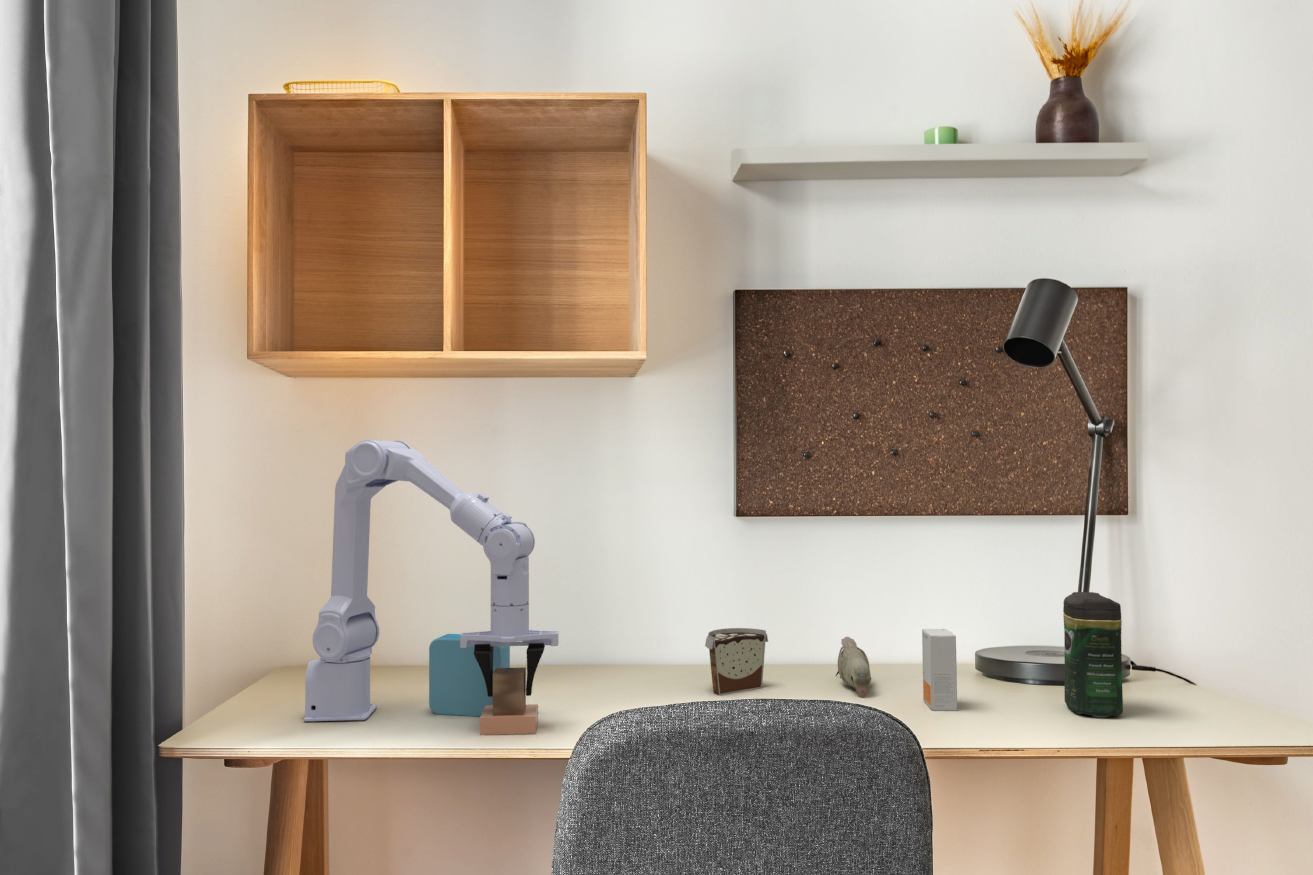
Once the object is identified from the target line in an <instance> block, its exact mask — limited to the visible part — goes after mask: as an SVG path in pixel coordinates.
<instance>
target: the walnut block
mask: <svg viewBox="0 0 1313 875" xmlns="http://www.w3.org/2000/svg"><path fill="white" fill-rule="evenodd" d="M526 683H527V666H526V667H525V666H524V667H523V666H522V667H510V668H496V669H495V671H494V673H493V716H504V715H524V712H525V708H526V705H527V702H526V701H527V698H526V697H527V696H526Z"/></svg>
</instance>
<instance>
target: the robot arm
mask: <svg viewBox="0 0 1313 875" xmlns="http://www.w3.org/2000/svg"><path fill="white" fill-rule="evenodd" d="M344 458H345V459H344V461H345V462H344V463H345V464H344V466H343V468H342V470H341V472H340V475H339V476H338V478H337V480H336V482H335V486H334V488H335V489H334V507H333V511H334V512H333V532H332V533H333V534H332V536H333V537H332V558H331V559H332V560H331V561H332V562H331V564H332V565H331V586H330V588H331V590H330V597H329V599H328V600H327V602H326V603H325V604H324V605H323V607H322V608H321V609H320V610H319V611H318V621H317V624H316V627H315V629H314V631H313V634H312V645H313V646H312V647H313V650H314V651H315V653H316V654H317V655H318V656H319V657H320V658H314V659H311V660H310V661H309V662H308V664H307V666H306V672H305V681H304V684H305V685H304V686H305V687H304V690H305V692H304V698H305V699H304V702H305V703H304V704H305V705H304V718H303V721H304V722H325V721H326V722H328V721H331V722H332V721H336V722H337V721H365V720H367V719H368V718H369V717H370V716H371V715H372V713H373V712H374V711H375V710H376V709H377V708H378V704H375V703H373V704H372V703H371V655H372V654H373V653H372V651H373V650H372V649H373V648H374V646H375V645H376V644H377V642H378V641H379V637H380V627H379V626H380V625H379V623H378V620H377V618H376V606H375V604H374V603H373V602H372V600H371V599H370V597H369V596H368V582H369V581H368V580H369V579H368V578H369V556H370V555H369V554H370V534H371V533H370V531H371V530H370V527H371V526H370V525H371V506H372V504H371V502H372V498H373V497H374V496H376V495H377V494H378V493H379V492H380V491H382V490H383V489H384V488H386V486H388V485H390V484H394V483H396V482H398V481H401V482H410V483H411V484H414V485H415V486H416V487H417V488H419V490H421V491H423V492H424V493H426V494H427V495H429V496H430V497H431V498H433V499H434V500H436V501H437V502H438V503H439V504H441V505H442V506H444V507H446V508H447V509H448V510H449V514H450V515H449V516H450V520H451V522H452V523H453V524H455V526H457V527H458V528H460V530H462V531H463V532H464V533H465V534H467V535H469V537H471V538H472V539H473V540H474V541H476V542H477V543H478V544H479V545H480V546H482V549H483V551H484V555H485V556H486V558H487V559H488V561H489V563H490V630H486V631H485V630H484V631H472V632H461V633H460V634H461V635H460V648H467V647H474V656H475V658H476V660H477V662H478V664H479V666H480V669H481V671H482V674H483V677H484V680H485V683H486V688H487V694H488V697H492V696H493V650H494V646H510V647H527V646H528V647H527V648H526V697H530V696H532V693H533V683H534V679H535V675H536V672H537V668H538V667H539V666H538V665H539V663H540V661H541V658H542V656H543V654H544V651H545V647H546V646H551V647H558V646H559V631H558V630H534V629H530V572H529V571H530V570H529V569H530V566H529V565H530V563H529V560H530V559H529V558H530V555H531V554H532V552H533V551H534V548H535V546H536V545H535V543H536V542H535V541H536V540H535V536H534V533H533V531H532V530H531V528H530V527H528V525H527V523H525V522H522V521H512V520H511V519H512V515H511V514H509V513H503V512H502V511H500V509H498V508H497V507H495V506H494V505H493V504H492V503H491V502H489V500H490V497H489V496H488V495H487V494H486V493H484V492H483V493H478V492H476V491H470V492H464V491H462V490H461V489H460V488H459V487H458V486H457V485H456V484H455V483H454V482H452V480H450V479H449V478H448V477H446V475H444V473H442V472H441V471H440V470H438V468H437V467H436V466H434V465H433V464H432V463H431V462H429V461H428V460H427V459H426V458H425V457H424V455H423V454H422V453H421V451H418V450H417V449H415V448H412V447H411V446H410V444H408V443H407V442H405V441H402V440H375V439H368V438H367V439H362V440H360V441H358V442H357V443H355V444H354V445H353V446H351V448H349V449H348V450H347V451H346V452H345V456H344Z"/></svg>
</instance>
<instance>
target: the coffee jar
mask: <svg viewBox="0 0 1313 875" xmlns="http://www.w3.org/2000/svg"><path fill="white" fill-rule="evenodd" d="M1062 607H1063V611H1062V612H1063V614H1062V616H1063V628H1064V629H1063V632H1064V634H1063V636H1064V639H1063V640H1064V649H1063V650H1064V651H1063V652H1064V685H1063V686H1064V692H1063V693H1064V703H1065V704H1066V706H1067V707H1068V708H1069V709H1070V710H1071V711H1072V712H1075V713H1076V714H1078V715H1079V714H1080V715H1081V714H1082V715H1086V716H1092V717H1093V718H1108V717H1111V716H1115V717H1117V716H1121V715H1122V714H1123V712H1124V697H1123V662H1122V661H1123V660H1122V658H1123V655H1122V654H1123V653H1122V626H1123V625H1122V622H1123V621H1122V608H1121V607H1122V606H1121V604H1120V603H1119V602H1117V601H1115V600H1112V599H1111V598H1109V597H1106V596H1103V595H1101V594H1100V593H1099V592H1093V591H1074V592H1072V593H1071V594H1069V595H1067V596H1066V597H1065V598H1064V599H1063V606H1062Z"/></svg>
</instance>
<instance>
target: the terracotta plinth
mask: <svg viewBox="0 0 1313 875" xmlns="http://www.w3.org/2000/svg"><path fill="white" fill-rule="evenodd" d="M538 722H539V704H537V703H536V704H533V703H532V704H531V703H530V704H529V703H527V704H526V708H525V712H524V715H504V716H493V705H486V706H485V708H484V710H483V712H482V715H481V717H479V735H480V736H498V735H499V736H500V735H533V734H534V735H535V734H536V731H537V727H538Z"/></svg>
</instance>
